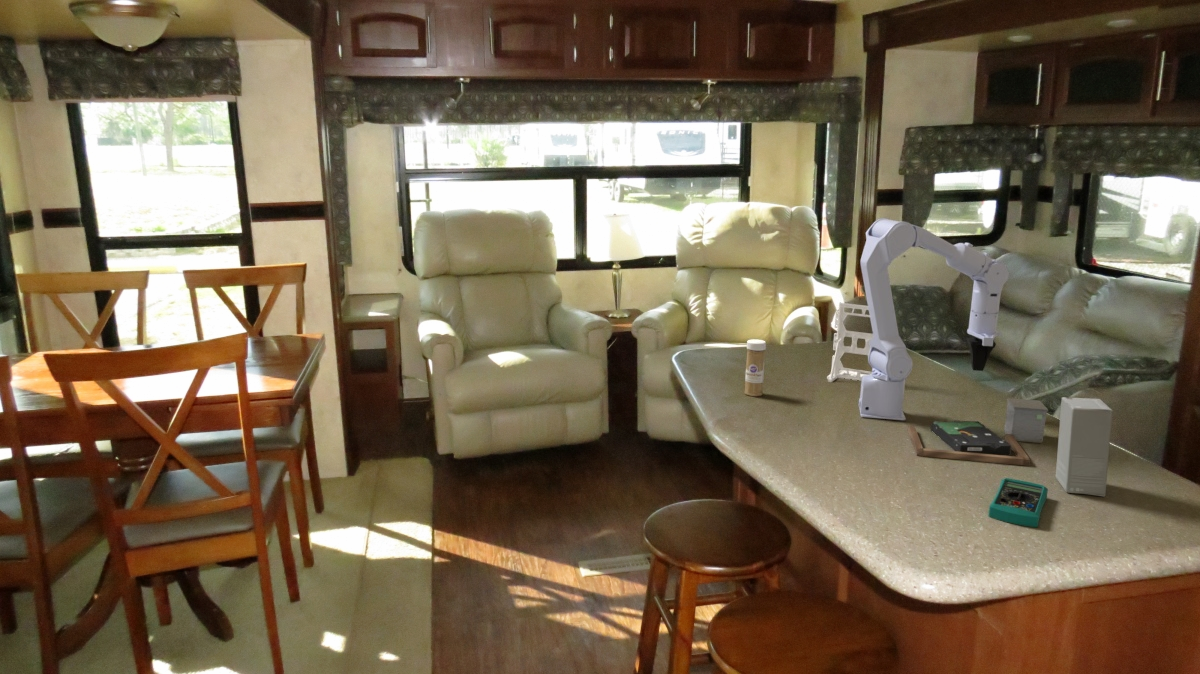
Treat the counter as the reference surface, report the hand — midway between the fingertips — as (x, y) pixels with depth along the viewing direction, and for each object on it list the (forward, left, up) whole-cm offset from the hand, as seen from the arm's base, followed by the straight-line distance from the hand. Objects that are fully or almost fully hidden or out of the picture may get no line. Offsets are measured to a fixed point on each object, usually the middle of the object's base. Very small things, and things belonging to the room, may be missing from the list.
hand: (977, 369), depth 188 cm
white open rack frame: (-24, +21, -10) cm, 33 cm away
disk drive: (-5, -23, -11) cm, 25 cm away
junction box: (+7, -16, -10) cm, 20 cm away
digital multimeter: (-2, -55, -11) cm, 56 cm away
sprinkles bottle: (-50, 0, -10) cm, 51 cm away
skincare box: (+10, -42, -10) cm, 44 cm away
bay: (-6, -26, -10) cm, 28 cm away
